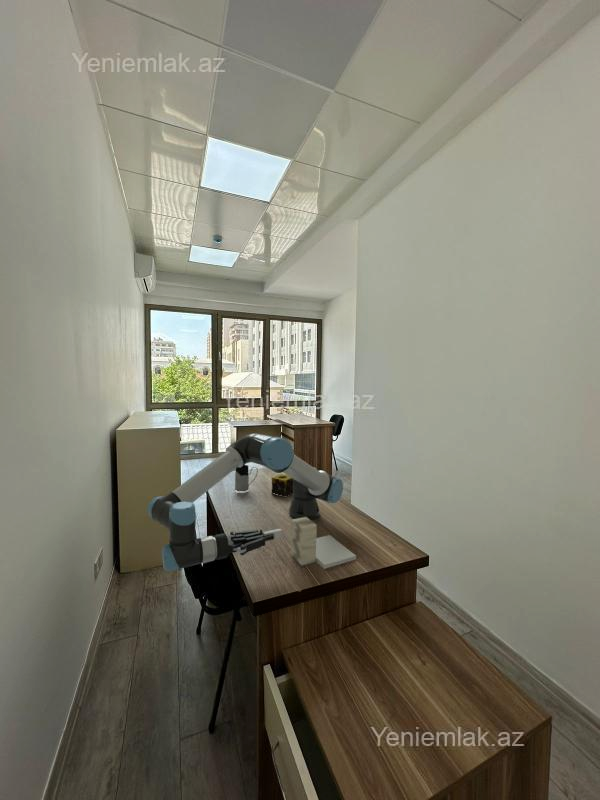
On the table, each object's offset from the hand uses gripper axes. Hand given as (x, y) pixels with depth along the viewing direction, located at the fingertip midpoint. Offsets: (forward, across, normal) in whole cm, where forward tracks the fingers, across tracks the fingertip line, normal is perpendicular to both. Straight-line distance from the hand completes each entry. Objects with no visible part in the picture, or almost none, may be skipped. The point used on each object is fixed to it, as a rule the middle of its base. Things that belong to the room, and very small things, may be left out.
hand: (280, 533), depth 116 cm
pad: (+20, 0, -12) cm, 23 cm away
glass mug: (+15, -81, -12) cm, 83 cm away
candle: (+33, -67, -12) cm, 76 cm away
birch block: (+10, 0, -12) cm, 15 cm away
